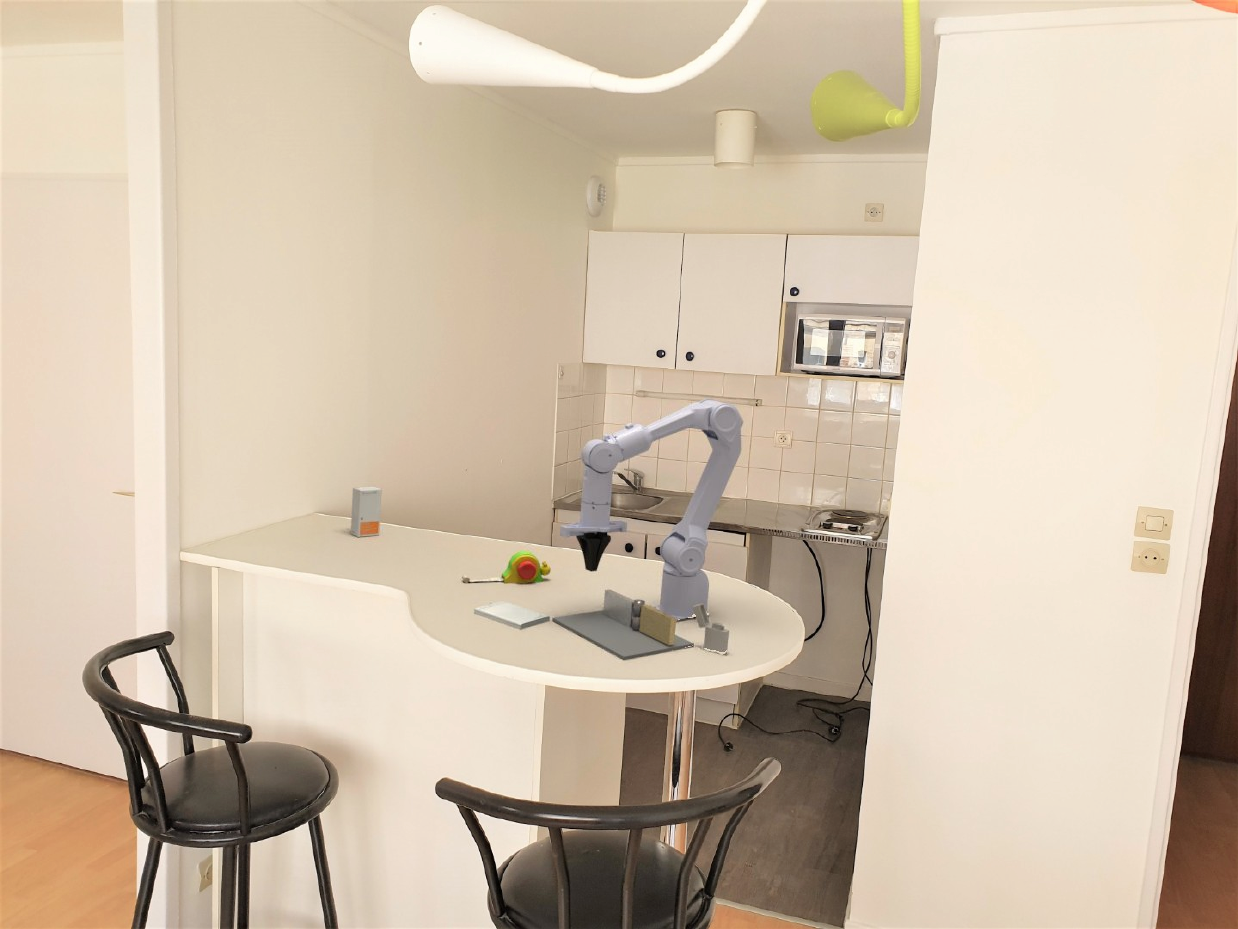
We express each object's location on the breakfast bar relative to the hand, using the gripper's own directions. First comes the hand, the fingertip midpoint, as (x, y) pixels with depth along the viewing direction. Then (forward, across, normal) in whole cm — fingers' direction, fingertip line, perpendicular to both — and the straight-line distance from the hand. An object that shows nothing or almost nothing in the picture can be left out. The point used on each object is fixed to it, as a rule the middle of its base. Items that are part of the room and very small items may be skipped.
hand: (591, 570), depth 183 cm
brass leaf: (+8, +3, -16) cm, 19 cm away
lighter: (+10, +10, -24) cm, 28 cm away
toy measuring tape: (+10, -2, +28) cm, 29 cm away
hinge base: (+9, 0, -11) cm, 14 cm away
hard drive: (+10, -14, +6) cm, 18 cm away
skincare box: (+10, -15, +77) cm, 79 cm away
